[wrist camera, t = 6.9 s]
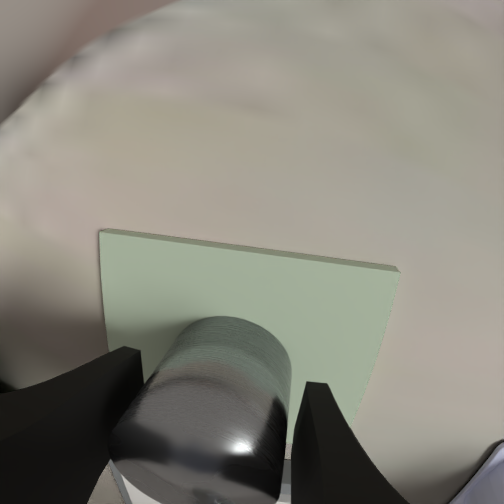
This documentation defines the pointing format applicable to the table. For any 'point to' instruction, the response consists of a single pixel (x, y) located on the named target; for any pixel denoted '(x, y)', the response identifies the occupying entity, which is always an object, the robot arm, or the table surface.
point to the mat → (250, 305)
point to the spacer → (210, 418)
